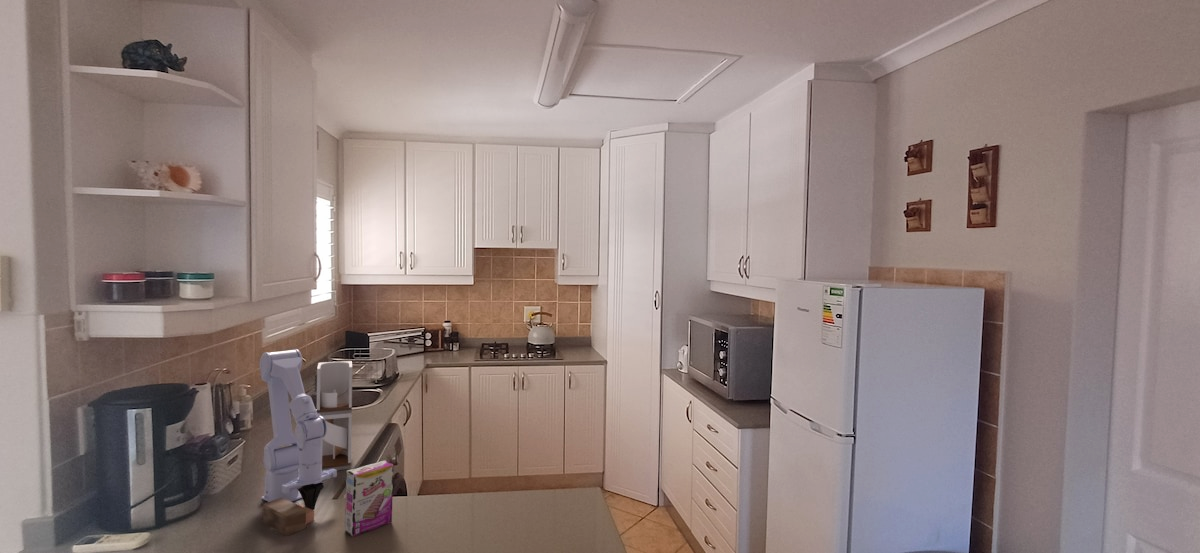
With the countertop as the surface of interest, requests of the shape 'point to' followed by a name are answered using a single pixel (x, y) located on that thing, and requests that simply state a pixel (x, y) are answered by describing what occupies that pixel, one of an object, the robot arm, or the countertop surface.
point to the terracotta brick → (308, 514)
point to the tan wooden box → (284, 516)
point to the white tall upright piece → (335, 412)
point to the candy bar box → (368, 497)
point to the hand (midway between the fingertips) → (310, 509)
